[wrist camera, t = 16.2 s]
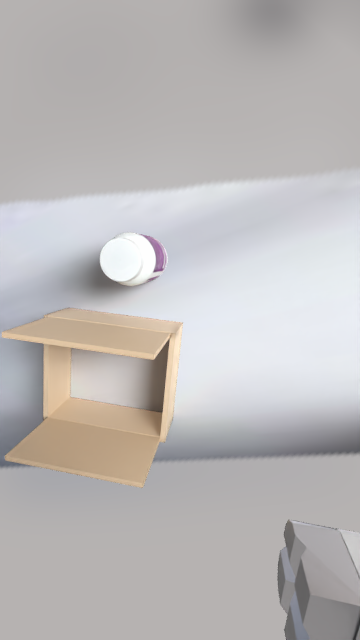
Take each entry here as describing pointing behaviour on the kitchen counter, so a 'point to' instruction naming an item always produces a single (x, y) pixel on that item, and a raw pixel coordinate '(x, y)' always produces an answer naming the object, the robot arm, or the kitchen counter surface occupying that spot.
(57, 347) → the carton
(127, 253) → the pill bottle
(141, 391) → the kitchen counter surface
